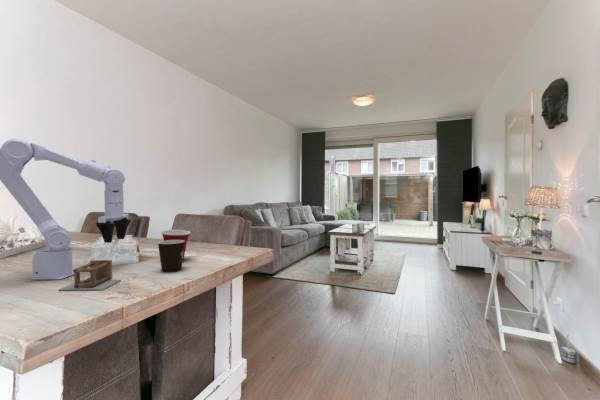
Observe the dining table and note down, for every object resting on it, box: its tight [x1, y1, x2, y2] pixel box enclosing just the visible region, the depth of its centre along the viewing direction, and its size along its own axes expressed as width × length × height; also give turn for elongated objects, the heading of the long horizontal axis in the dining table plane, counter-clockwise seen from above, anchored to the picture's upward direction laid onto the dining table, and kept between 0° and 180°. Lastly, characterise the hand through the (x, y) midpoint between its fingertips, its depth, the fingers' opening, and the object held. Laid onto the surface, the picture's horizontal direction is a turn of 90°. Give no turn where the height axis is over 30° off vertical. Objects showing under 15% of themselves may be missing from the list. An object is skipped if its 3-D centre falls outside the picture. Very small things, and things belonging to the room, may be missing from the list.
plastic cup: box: [160, 229, 191, 260], centre depth 112 cm, size 11×11×12 cm
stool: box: [73, 259, 113, 288], centre depth 83 cm, size 6×6×8 cm
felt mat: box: [57, 279, 122, 292], centre depth 82 cm, size 12×8×1 cm
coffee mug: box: [157, 240, 185, 273], centre depth 101 cm, size 12×9×10 cm
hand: (114, 240), depth 101 cm, fingers open, 7 cm apart
